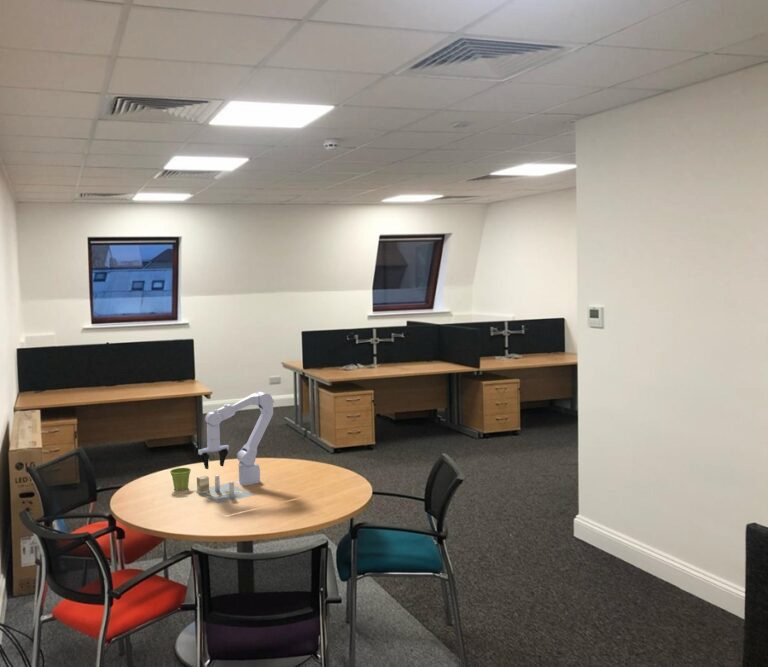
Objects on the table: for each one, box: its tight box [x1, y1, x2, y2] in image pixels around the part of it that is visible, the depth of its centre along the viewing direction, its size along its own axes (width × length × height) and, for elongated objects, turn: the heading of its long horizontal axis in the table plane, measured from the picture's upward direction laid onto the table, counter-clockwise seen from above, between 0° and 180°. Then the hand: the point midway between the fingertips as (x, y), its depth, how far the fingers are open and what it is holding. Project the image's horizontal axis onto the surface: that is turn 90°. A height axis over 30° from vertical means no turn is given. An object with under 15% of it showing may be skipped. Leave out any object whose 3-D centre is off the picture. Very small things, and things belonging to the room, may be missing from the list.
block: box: [196, 475, 210, 492], centre depth 329 cm, size 4×4×6 cm
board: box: [193, 474, 256, 504], centre depth 327 cm, size 18×24×8 cm
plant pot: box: [169, 467, 192, 491], centre depth 336 cm, size 9×9×9 cm
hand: (214, 467), depth 335 cm, fingers open, 7 cm apart
